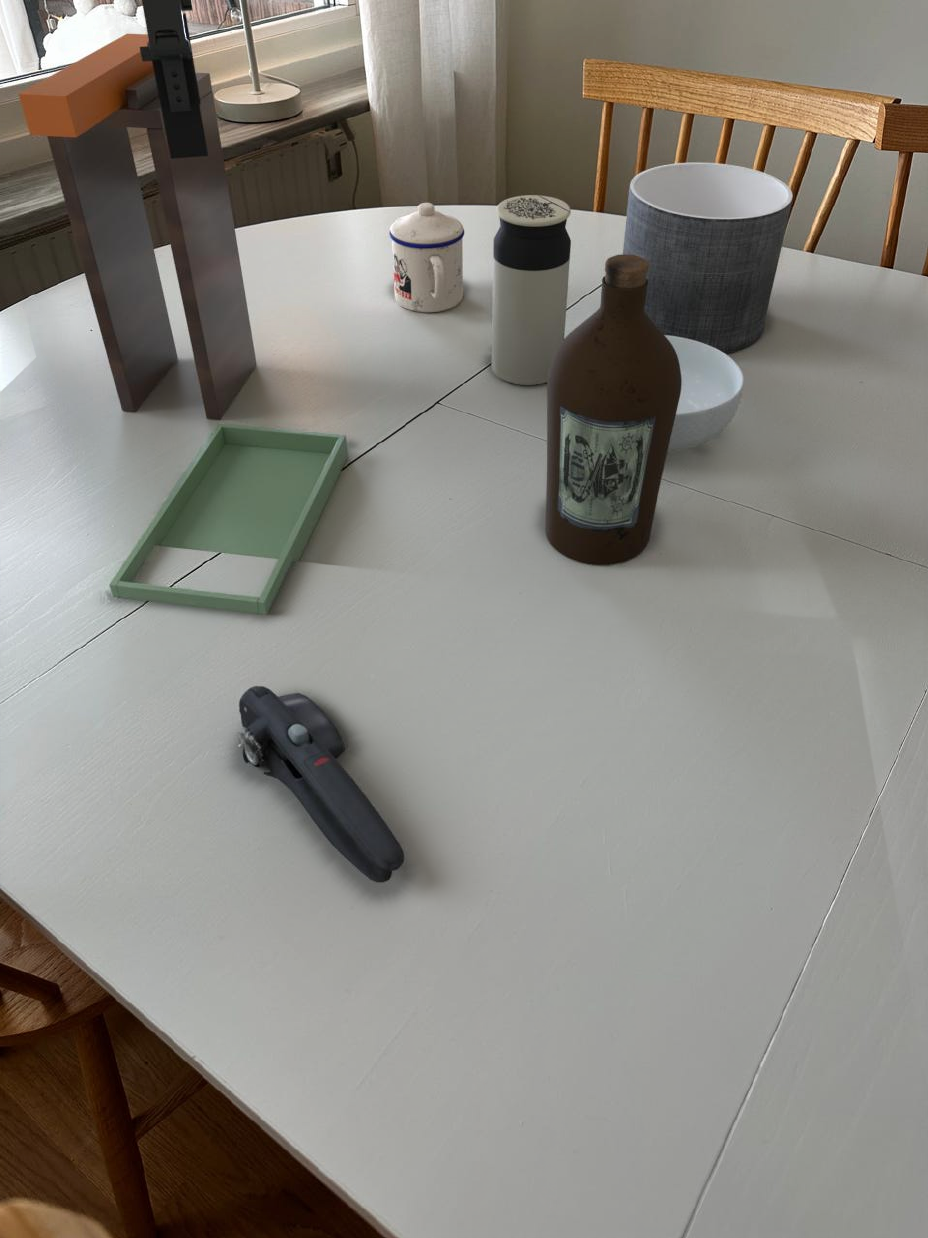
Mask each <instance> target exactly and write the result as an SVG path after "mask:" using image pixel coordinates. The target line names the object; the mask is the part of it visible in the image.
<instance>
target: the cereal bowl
mask: <svg viewBox="0 0 928 1238" xmlns="http://www.w3.org/2000/svg"><path fill="white" fill-rule="evenodd" d="M665 336H666V338H667V339H668V340H669V341H670V343H671V344H672V346H673V348H674V349H675V351H676V354H677V356H678V360H679V364H680V370H681V379H682V386H681V394H680V399H679V403H678V407H677V412H676V416H675V420H674V425H673V429H672V433H671V438H670V442H669V447H668V451H667V453H671V452H678V451H685V450H689V449H692V448H695V447H698V446H700V445H702V444H704V443H707V442H709V441H710V440H711V439H713V438H715V437H716V436H718V435H719V434H720V433H721V432H723V431H724V430H725V428H727V427H728V426H729V424H730V423H731V422H732V420H733V418H734V417H735V415H736V412H737V411H738V408H739V405H740V403H741V398H742V396H743V391H744V387H745V377H744V373H743V371H742V369H741V367H740V365H738V363H737V362H736V361H735V360H734V359H733V358H731V356H730V355H728V354H727V353H723V352H721V351H720V350H718V349H716V348H714V347H711V346H709V345H706V344H704V343H701V342H698V341H695V340H691V339H686V338H682V337H676V336H669V335H665Z"/></svg>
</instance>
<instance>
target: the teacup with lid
mask: <svg viewBox="0 0 928 1238" xmlns="http://www.w3.org/2000/svg"><path fill="white" fill-rule="evenodd" d="M464 236H465V229H464V225H463V223H462V222H461V221H460V220H459V219H458V218H456V217H454V216H452V215H449V214H445V213H442V212H440V211H438V210H436V208H435V205H434V204H433V203H431V202H423V203H420V204H418V206H417V210H416V211H414V212H412V213H410V214H407V215H403V216H402V217H399V218H397V219H396V220H395V221H393V223H392V224H391V226H390V228H389V237H390V239H391V249H392V267H393V271H392V272H393V288H394V299H395V301H396V303H397V304H398V305H399V306H401V307H402V308H404V309H406V310H409V311H413V312H417V313H439V312H445V311H447V310H450V309H453V308H455V307H456V306H457V305H458V304H460V303H461V302H462V299H463V296H464V288H463V286H464V281H463V280H464V279H463V277H464V276H463V275H464V272H463V270H464V269H463V263H464V261H463V260H464V259H463V255H464V254H463V253H464V252H463V237H464ZM452 307H453V308H452Z"/></svg>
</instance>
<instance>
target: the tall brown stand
mask: <svg viewBox="0 0 928 1238" xmlns="http://www.w3.org/2000/svg"><path fill="white" fill-rule="evenodd" d="M196 78H197V84H198V90H199V96H200V102H201V104H200V110H201V116H202V122H203V128H204V134H205V140H206V145H207V151H208V156H201V157H188V158H175V159H171V156H170V151H169V146H168V140H167V135H166V130H165V125H164V120H163V115H162V110H161V104H160V99H159V94H158V89H157V84H156V79H155V74H154V71H153V72H151V73H150V74H148V75H146V76H145V77H143V78H142V79H140V80H139V81H137V82H136V83H134V84H133V85H131V86H130V87H128V88H127V89H125V93H126V97H127V102H128V103H127V104H125V105H124V106H122V107H121V108H119V109H118V110H116V111H115V112H113V113H112V114H110V115H109V116H107V117H106V118H105V119H103V120H102V121H100V122H99V123H97V124H96V125H94V126H93V127H91V128H90V129H88V130H87V131H85V132H84V133H82V134H81V135H79V136H78V137H57V136H46V137H47V141H48V145H49V149H50V152H51V155H52V160H53V164H54V167H55V171H56V174H57V178H58V181H59V184H60V189H61V193H62V196H63V200H64V203H65V206H66V207H65V208H66V211H67V213H68V217H69V222H70V225H71V229H72V233H73V236H74V240H75V243H76V247H77V251H78V254H79V258H80V262H81V266H82V269H83V272H84V276H85V277H84V278H85V280H86V284H87V287H88V291H89V295H90V298H91V302H92V305H93V309H94V313H95V316H96V320H97V324H98V327H99V332H100V335H101V339H102V342H103V345H104V350H105V353H106V356H107V360H108V364H109V368H110V371H111V375H112V378H113V383H114V386H115V390H116V392H117V393H116V394H117V397H118V401H119V404H120V408H121V411H122V412H129V413H130V412H131V413H135V412H136V411H137V410H138V409H139V408H140V407H141V405H143V403H144V401H146V399H147V398H148V397H149V396H150V394H151V393H152V392H153V391H154V389H156V387H157V385H158V384H159V383H160V382H161V381H162V379H163V378H164V377H165V376H166V374H167V373H168V372H169V371H170V369H171V368H172V367H173V366H174V365H175V363H176V362H177V361H178V359H179V357H178V353H177V347H176V343H175V339H174V335H173V330H172V326H171V321H170V316H169V311H168V308H167V302H166V298H165V293H164V289H163V285H162V280H161V276H160V271H159V267H158V266H159V265H158V262H157V257H156V252H155V248H154V244H153V239H152V235H151V230H150V226H149V221H148V216H147V211H146V208H145V203H144V199H143V193H142V189H141V185H140V180H139V176H138V171H137V167H136V162H135V158H134V153H133V149H132V144H131V139H130V136H129V135H130V134H129V131H128V128H131V129H133V128H134V129H146V133H147V138H148V143H149V147H150V153H151V158H152V162H153V163H152V164H153V167H154V172H155V177H156V181H157V186H158V192H159V197H160V202H161V206H162V210H163V215H164V216H163V217H164V220H165V225H166V230H167V234H168V239H169V243H170V244H169V245H170V248H171V253H172V259H173V264H174V268H175V273H176V277H177V283H178V288H179V292H180V297H181V302H182V306H183V311H184V312H183V313H184V316H185V321H186V327H187V332H188V336H189V341H190V344H191V350H192V354H193V359H194V365H195V369H196V374H197V379H198V383H199V388H200V393H201V397H202V398H201V399H202V402H203V403H202V404H203V407H204V412H205V416H206V419H207V420H215V421H217V420H218V421H220V420H222V417H224V414H225V413H226V412H227V410H228V409H229V407H230V406H231V404H232V403H233V402H234V400H235V398H236V397H237V396H238V394H239V392H240V391H241V390H242V388H243V387H244V385H245V384H246V382H247V381H248V379H249V378H250V376H251V375H252V373H253V372H254V371H255V369H256V367H257V366H258V364H257V357H256V353H255V346H254V340H253V333H252V327H251V321H250V314H249V309H248V303H247V295H246V290H245V283H244V278H243V277H244V276H243V271H242V266H241V260H240V259H241V258H240V254H239V246H238V240H237V235H236V229H235V222H234V215H233V210H232V202H231V197H230V191H229V185H228V178H227V173H226V165H225V160H224V159H225V158H224V155H223V153H224V152H223V146H222V141H221V134H220V130H219V123H218V117H217V110H216V104H215V98H214V93H213V88H212V87H213V86H212V80H211V74H210V73H209V72H196Z"/></svg>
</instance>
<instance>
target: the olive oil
mask: <svg viewBox="0 0 928 1238" xmlns="http://www.w3.org/2000/svg"><path fill="white" fill-rule="evenodd" d="M648 268H649V263H648V261H647V260H645V259H643V258H641V257H639V256H635V255H628V254H623V253H622V254H616V255H612V256H610V257H608V258H607V259H606V260H605V263H604V273H605V275H604V276H603V277H602V279H601V291H600V292H601V293H600V305H599V307H598V309H597V310H596V311H595V312H593V313H592V314H591V315H590V316H589V317H588V318H587V319H585V320H584V321H582V322H581V323H580V324H579V325H578V326H576V327H575V328H574V329H573V330H571V332H569V333H568V335H566V336H565V337H564V340H563V341H562V342H561V344H560V345H559V347H558V349H557V350H556V353H555V355H554V357H553V360H552V362H551V365H550V368H549V373H548V379H547V382H546V493H545V495H546V496H545V523H544V524H545V525H544V526H545V528H544V529H545V530H544V531H545V535H546V538H547V541H548V543H549V544H550V545H551V547H552V548H553V549H555V551H556V552H558V553H559V554H561V555H562V556H564V557H565V558H568V559H570V560H572V561H574V562H578V563H581V564H585V563H586V565H591V564H592V566H613V565H619V564H622V562H623V563H625V561H626V562H628V561H631V560H633V559H635V558H636V557H638V556H639V555H641V554H642V553H643V552H644V551H645V549H646V548H647V546H648V545H649V542H650V538H651V534H652V528H653V524H654V519H655V518H654V517H655V513H656V508H657V504H658V503H657V502H658V498H659V493H660V487H661V483H662V478H663V473H664V469H665V465H666V460H667V455H668V452H667V451H668V447H669V442H670V438H671V433H672V429H673V425H674V420H675V416H676V412H677V407H678V403H679V399H680V394H681V386H682V379H681V370H680V364H679V360H678V356H677V354H676V351H675V349H674V348H673V346H672V344H671V343H670V341H669V340H668V339H667V338H666V336H665V335H664V334H663V333H662V332H661V331H660V329H659V328H658V327H657V326H656V325H655V324H654V323H653V321H652V320H651V319H650V318H649V317H648V315H647V314H646V312H645V310H644V307H645V301H646V295H647V288H648V280H647V279H646V276H647V274H648ZM618 563H619V564H618Z"/></svg>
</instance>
